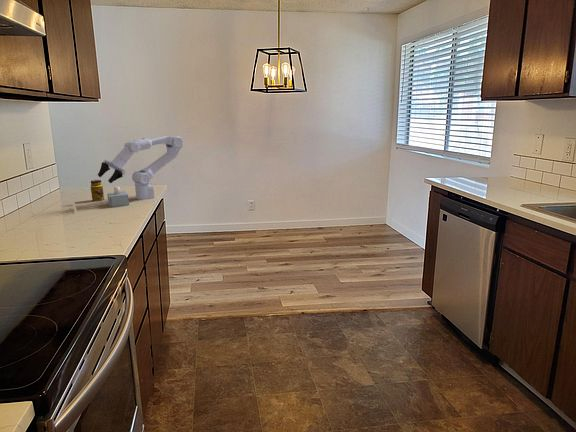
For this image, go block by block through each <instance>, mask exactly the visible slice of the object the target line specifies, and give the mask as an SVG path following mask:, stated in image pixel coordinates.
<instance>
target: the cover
mask: <svg viewBox="0 0 576 432" xmlns="http://www.w3.org/2000/svg"><path fill="white" fill-rule="evenodd" d="M106 195H107V201H108V202H107V203H108V205H109V207H110V208H116V207H125V206H130V200H129V199H130V198H129V194H128V193H127V192H126V191H121V187H120V186H113V192H107V193H106Z"/></svg>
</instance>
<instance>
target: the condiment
mask: <svg viewBox="0 0 576 432" xmlns="http://www.w3.org/2000/svg"><path fill="white" fill-rule="evenodd" d="M103 187H104V185H102V180H101V179H94V180H91V181H90V192H91V193H90V194H91V199H92V202H101V201H104V200H105V195H104V189H103Z"/></svg>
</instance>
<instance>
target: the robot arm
mask: <svg viewBox="0 0 576 432" xmlns="http://www.w3.org/2000/svg"><path fill="white" fill-rule="evenodd" d="M162 144H164V145H165V146H166V152H165V153H164V154H163V155H162V154H161V156H159V157H158V158H157V159H155V161H154V160H153V161H154V162H152V163H150V164H149V165H148V166H146V167H144V168H142V169H140V170H138V171H134V172H133V173H132V176H131V179H132V181H133V182H134V189H135V190H134V191H135V198H136V199H135V200H139V201H142V200H144V201H145V200H150V199H155V190H154V185H153V183H150V182H151V179H153V177H154V174H156V173H157V172H159V171H160V170H161V169H162V168H164V167H165V166H166V165H167V164H169V163H170V162H172V161H173V160H175V158H177V156H178V155H179V153H180V151H181V149H183V145H184V140H183V138H182V137H181V136H179V135H175V136H174V135H165V136H160V137H156V138H152V139H149V138H148V137H142V138H141V139H134V140H133V141H131V140H129V141H127V142H125V143H124V145H123V148H122V149H121V151H119V153H118V154H117V155H116V156H115V157H114V159H112V160H111V161H110V160H107V159H104V160H103V161H102V162H101V166H100V170H99V171H98V173H97V176H98V177H99V178H102V177H103V176H104V175H105V173H107V172H108V171H110V170H111V169H113V170H114V172H113V173H112V174H111V177H110V178H109V179H108V183H109V184H112V183H114V182H115V181H116V180H118V179H121V178H123V177H124V176H126V174H127V170H126V169H123V166H125V165H126V163H127V162H128V161H129V160H130V159H131V158H132V156H133V155H134V154H137V153H139V152H141V151H145V150H148V149H151V148H152V146H156V145H162Z"/></svg>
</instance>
